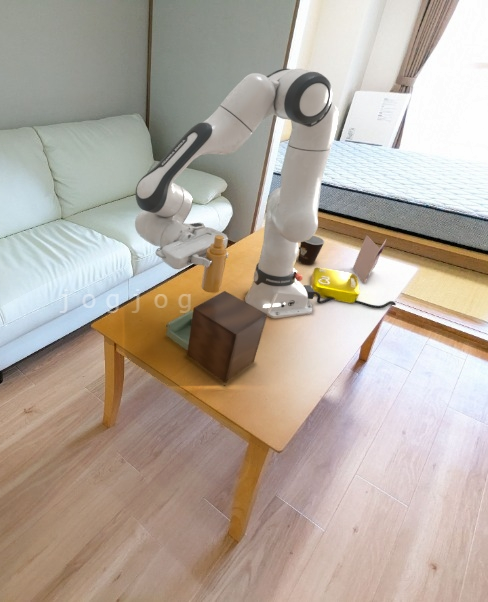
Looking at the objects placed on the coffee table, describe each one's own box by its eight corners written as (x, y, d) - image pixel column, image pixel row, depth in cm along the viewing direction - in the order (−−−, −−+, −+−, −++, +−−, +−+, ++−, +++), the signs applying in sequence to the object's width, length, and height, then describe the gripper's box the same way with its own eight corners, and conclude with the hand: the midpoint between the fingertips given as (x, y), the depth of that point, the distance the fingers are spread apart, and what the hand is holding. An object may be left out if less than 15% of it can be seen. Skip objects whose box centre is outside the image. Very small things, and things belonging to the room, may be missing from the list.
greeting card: (366, 284, 142) (382, 249, 134) (345, 277, 146) (360, 243, 137) (373, 272, 149) (389, 239, 141) (353, 266, 153) (367, 233, 145)
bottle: (218, 282, 102) (227, 232, 93) (222, 292, 98) (232, 241, 89) (200, 282, 102) (207, 232, 93) (203, 292, 98) (211, 241, 89)
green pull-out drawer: (161, 333, 117) (162, 319, 114) (183, 320, 123) (185, 306, 119) (198, 361, 107) (201, 346, 104) (221, 345, 113) (224, 331, 109)
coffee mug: (320, 266, 153) (328, 244, 147) (299, 266, 153) (306, 244, 147) (309, 253, 163) (316, 232, 157) (289, 252, 163) (295, 231, 157)
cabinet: (186, 357, 109) (193, 307, 98) (215, 339, 116) (224, 290, 105) (224, 386, 100) (236, 334, 90) (253, 364, 107) (267, 314, 96)
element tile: (355, 304, 131) (360, 293, 129) (310, 295, 136) (314, 284, 133) (353, 283, 143) (357, 273, 140) (311, 275, 147) (314, 265, 144)
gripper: (152, 240, 96) (192, 261, 87) (205, 220, 106) (245, 237, 97) (151, 262, 99) (189, 284, 91) (202, 240, 110) (240, 258, 101)
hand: (218, 259), depth 94 cm, fingers closed on bottle, 5 cm apart
